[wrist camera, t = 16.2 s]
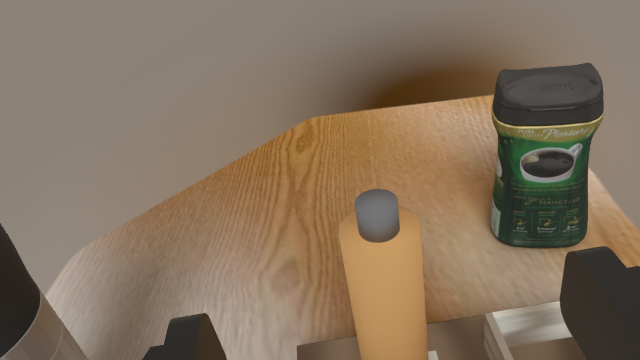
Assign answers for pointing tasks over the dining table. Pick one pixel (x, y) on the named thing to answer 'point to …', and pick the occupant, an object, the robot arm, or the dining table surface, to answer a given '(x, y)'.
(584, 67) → the coffee jar
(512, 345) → the board
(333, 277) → the dining table surface
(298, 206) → the dining table surface
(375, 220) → the tall tan cylinder
